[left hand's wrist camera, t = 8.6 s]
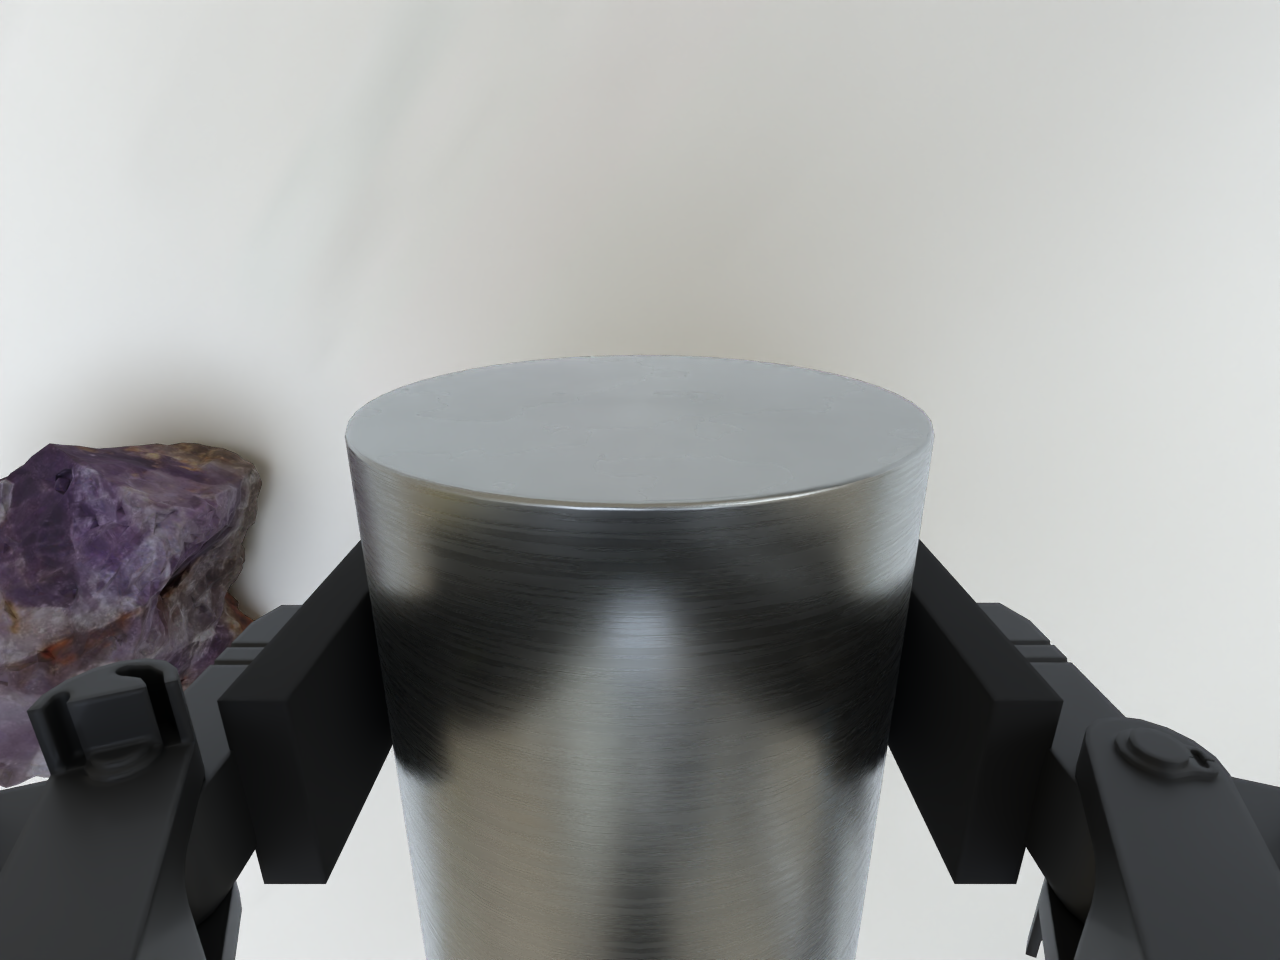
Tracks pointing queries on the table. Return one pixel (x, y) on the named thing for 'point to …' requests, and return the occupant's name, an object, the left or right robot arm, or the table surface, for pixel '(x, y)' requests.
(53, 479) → the rock
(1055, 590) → the table surface
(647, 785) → the rod
